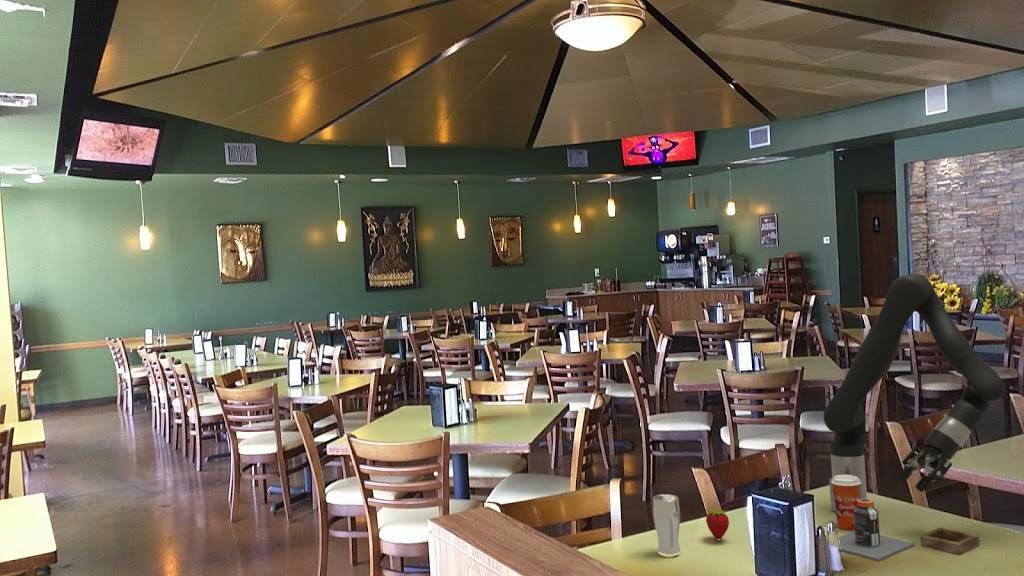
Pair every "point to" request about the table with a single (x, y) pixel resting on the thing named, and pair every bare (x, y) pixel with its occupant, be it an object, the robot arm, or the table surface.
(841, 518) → the paper cup
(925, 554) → the table surface
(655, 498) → the beer glass
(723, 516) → the strawberry
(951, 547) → the holder collar
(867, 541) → the pill bottle
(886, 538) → the rubber mat
